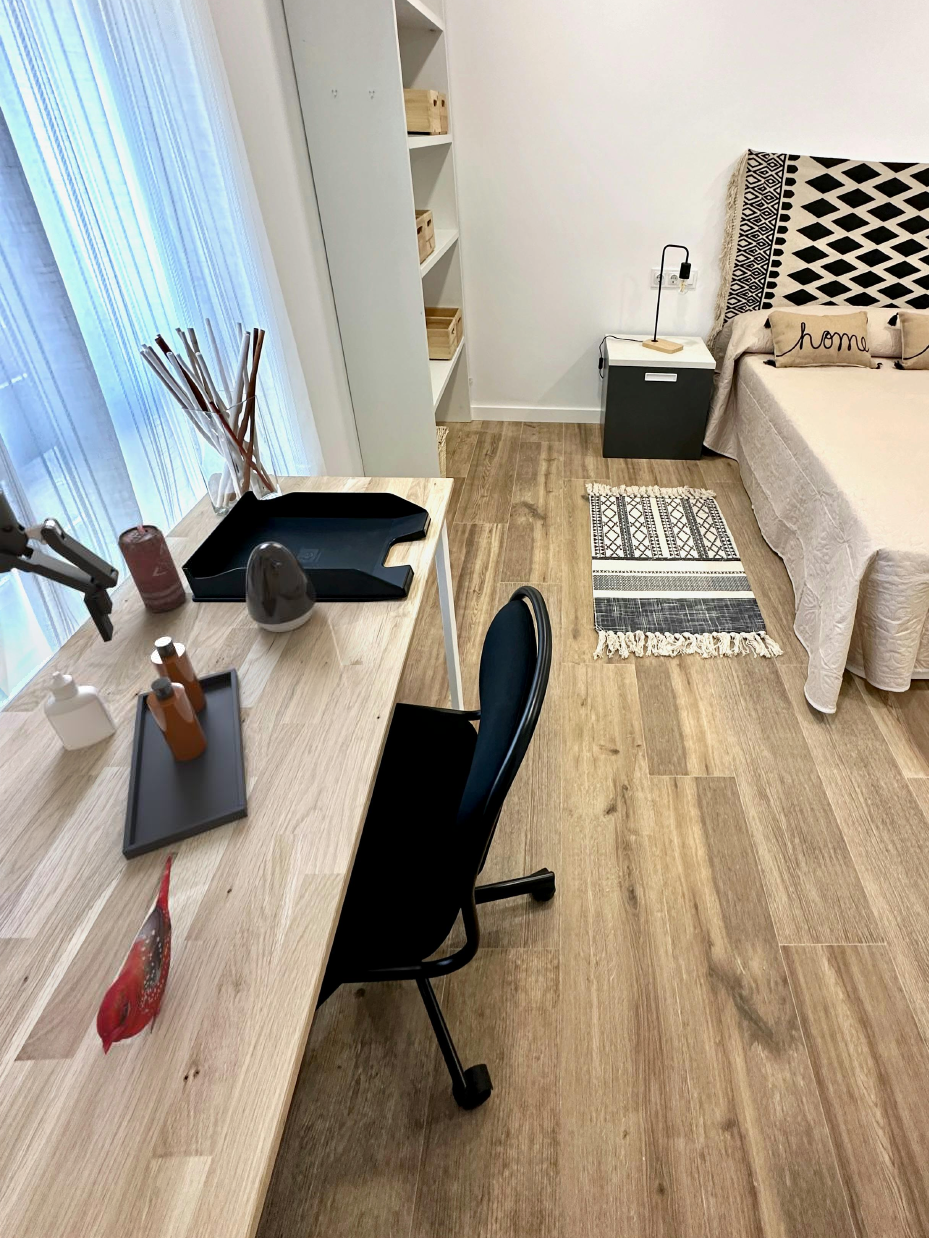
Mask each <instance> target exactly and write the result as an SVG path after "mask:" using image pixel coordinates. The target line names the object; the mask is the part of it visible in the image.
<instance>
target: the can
mask: <svg viewBox="0 0 929 1238" xmlns="http://www.w3.org/2000/svg"><path fill="white" fill-rule="evenodd" d="M117 545H118V547H119V550H120V552H121V554H122V557H123V559H124V560H125V563H126V566H127V568H128V570H129V572H130V575H131V576H132V579H133V582H134V584H135V586H136V589H137V591H138V594H139V595H140V596H139V597H140V598H141V600H142V602H143V605H144V607H145V609H147V610H149V611H150V612H152V613H164V611H165V612H169V611H172V610H174V609H176V608H177V607H179V606H181V605H182V604H183V603H184V601H185V599H186V596H187V593H186V591H185V588H184V585H183V583H182V580H181V577H180V574H179V572H178V570H177V567H176V564H175V562H174V560H173V557H172V554H171V551H170V549H169V546H168V544H167V541H166V539H165V536H164V533H163V532H162V530H160V529H159V528H158V527H157V526H155V525H153V524H139V525H137V526H133V527H131V528H129V529H126V530H124V531H123V532H122V533H120V534H119V536H118V542H117Z"/></svg>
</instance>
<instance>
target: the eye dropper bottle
mask: <svg viewBox="0 0 929 1238" xmlns="http://www.w3.org/2000/svg"><path fill="white" fill-rule="evenodd" d="M51 676H52V679H51V680H50V681H49V684H48V688H49V690H50V691H51V694H52V695H53V696H52V697H51V698H49V699H48V700H47V701H46V702H45V704H44V706H43V707H44V708H43V709H44V715H45V717H46V719H47V721H48V722H49V724H50V725H51V727H52V729H53V731H54V732H55V734H56V735H57V737H58V739H59V740H60V742H61V743H62V746H64V748H65V750H66V751H77V750H81V749H85V748H87V747H90V746H94V745H95V744H98V743H99V742H102V741H104V740H106V739H107V738H109V737H111V736H112V735H114V734H115V733H116V732H117V723H116V721H115V719H114V717H113V715H112V713H111V711H110V709H109V707H108V706H107V704H106V702H105V700H104V698H103V696H102V694H101V693H100V691H99V689H98V688H97V687H96V686H93V685H77V683H76V681H75V679H74V678H73V676H72V675H70V674H62V673H61V672H60V671H54V672H52V675H51Z"/></svg>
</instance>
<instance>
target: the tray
mask: <svg viewBox="0 0 929 1238" xmlns="http://www.w3.org/2000/svg"><path fill="white" fill-rule="evenodd" d="M198 680H199V682H200V685H201V687H202V690H203V692H204V695H205V697H206V700H207V701H206V705H205V706H204V708H203V709H202V710H200V711H199V712H198V713H196V716H197V719H198V721H199V723H200V726H201V728H202V730H203V733H204V735H205V737H206V740H207V747H206V749H205V750H204V751H203V753H202V754H200V755H199V756H198V757H196V758H194V759H192V760H189V761H178V760H176V759H174V757H173V755H172V753H171V751H170V749H169V747H168V745H167V743H166V741H165V739H164V737H163V735H162V733H161V731H160V729H159V727H158V724H157V722H156V720H155V718H154V716H153V714H152V712H151V710H150V708H149V706H148V704H147V698H148V696H149V694H150V693H151V692H152V691H153V690H150V691H147V692H144V693H140V694H137V702H136V703H137V704H136V712H135V722H134V732H133V743H132V753H131V763H130V772H129V773H130V774H129V783H128V793H127V803H126V810H125V812H126V813H125V820H124V821H125V822H124V832H123V843H122V852H121V853H122V855H123V857H124V858H125V859H126V861H130V860H133V859H136V858H138V857H141V856H144V855H147V854H149V853H153V852H155V851H157V850H161V849H163V848H166V847H168V846H172V845H174V844H176V843H180V842H183V841H185V840H187V839H190V838H194V837H195V836H198V835H202V834H204V833H207V832H209V831H212V830H215V829H218V828H220V827H223V826H226V825H229V824H231V823H234V822H236V821H239V820H242V819H245V818H248V817H249V813H248V812H249V811H248V799H247V785H246V772H245V758H244V744H243V742H244V741H243V730H242V718H241V717H242V716H241V704H240V703H241V702H240V689H239V676H238V672H237V670H236V667H233V668H230V669H226V670H221V671H219V672H215V673H211V674H207V675H204V676H201V677H198Z"/></svg>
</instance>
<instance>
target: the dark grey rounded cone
mask: <svg viewBox="0 0 929 1238" xmlns="http://www.w3.org/2000/svg"><path fill="white" fill-rule="evenodd" d="M247 560H248V561H247V565H246V569H245V583H244V585H245V586H244V589H245V590H244V591H245V592H244V593H245V602H246V608H247V612H248V615H249V617H250V618H251V619H252V620H253V621H254V622H255V623H256V625H258V626H260V627H261V628H262V629H264V630H266V631H268V632H273V633H285V632H290V631H293V630H295V629H297V628H300V627H301V626H302V625H304V624H305V623H306V622H307V621H308V620H309V619H310V618H311V616H312V614H313V613H314V609H315V606H316V605H315V604H316V601H317V593H316V590H315V588H314V585H313V583H312V580H311V578H310V576H309V574H308V573H307V570H305V568H304V566H303V565H302V563H301V562H300V561H299V559H298V558H297V556H296V555H295V554H294V553H293V552H292V551H291V550H290V549H289V548H288V547H287V546H285V545H284V544H282V543H280V542H276V541H266V542H265V541H264V542H263V543H260V544H258V545H257V546H256V547H254V548H253V550H252V552H251V553H250V555H249V557H248V559H247Z"/></svg>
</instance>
